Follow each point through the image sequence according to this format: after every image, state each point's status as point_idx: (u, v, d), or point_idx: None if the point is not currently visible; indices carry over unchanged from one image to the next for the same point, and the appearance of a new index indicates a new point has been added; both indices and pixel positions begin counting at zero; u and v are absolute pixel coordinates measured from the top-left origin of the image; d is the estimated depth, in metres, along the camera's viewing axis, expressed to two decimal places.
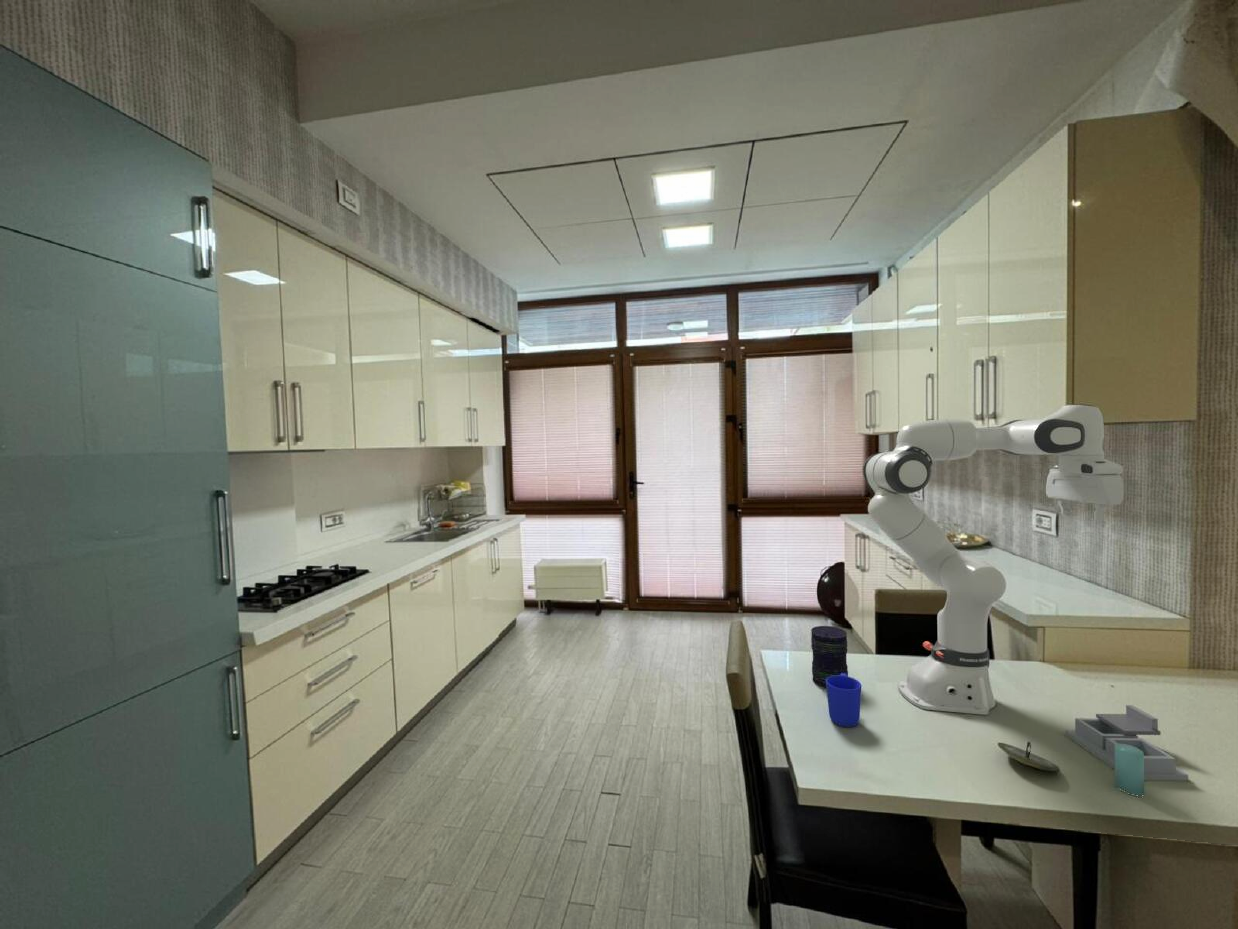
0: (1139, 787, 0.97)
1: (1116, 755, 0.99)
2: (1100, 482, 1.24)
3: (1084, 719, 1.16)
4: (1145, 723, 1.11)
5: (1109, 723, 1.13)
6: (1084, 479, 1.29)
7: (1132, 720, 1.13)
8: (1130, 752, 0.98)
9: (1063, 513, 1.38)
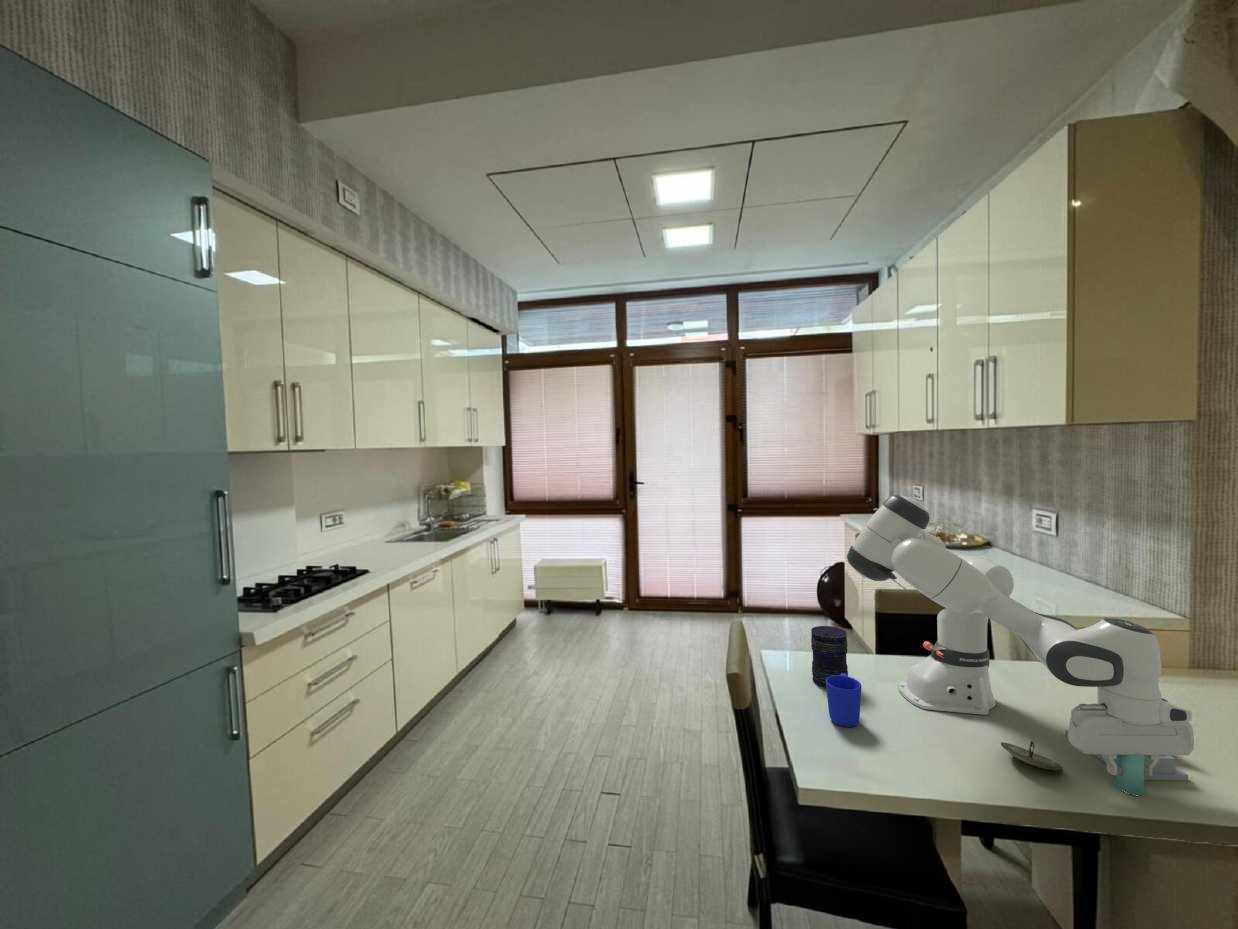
0: (1139, 787, 0.97)
1: None
2: (1190, 730, 0.95)
3: None
4: None
5: None
6: (1160, 726, 0.96)
7: None
8: None
9: (1118, 772, 0.98)
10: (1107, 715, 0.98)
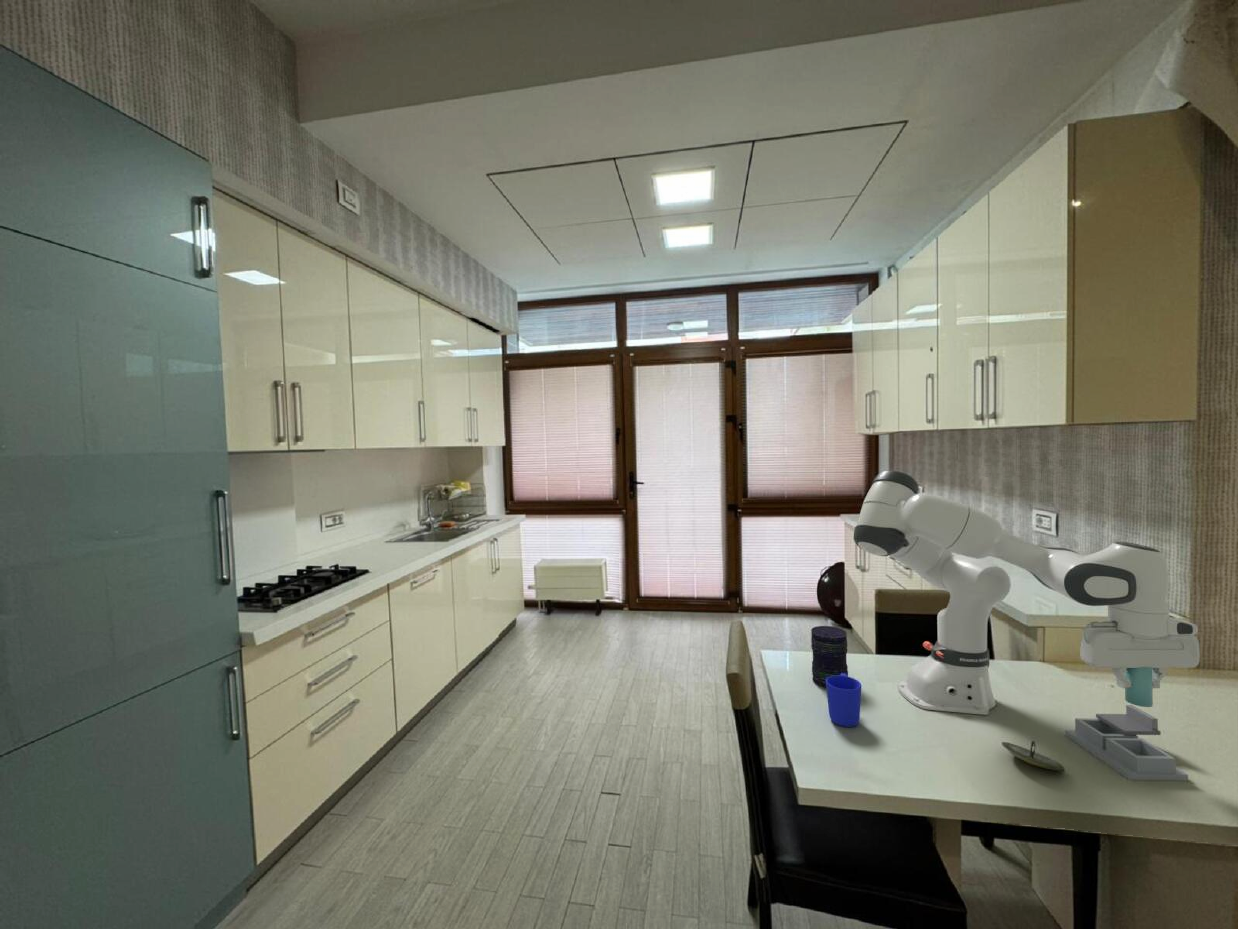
0: (1148, 698, 1.03)
1: (1126, 670, 1.05)
2: (1196, 643, 1.01)
3: (1084, 719, 1.16)
4: (1145, 723, 1.11)
5: (1109, 723, 1.13)
6: (1168, 640, 1.02)
7: (1132, 720, 1.13)
8: None
9: (1127, 685, 1.04)
10: (1117, 631, 1.04)
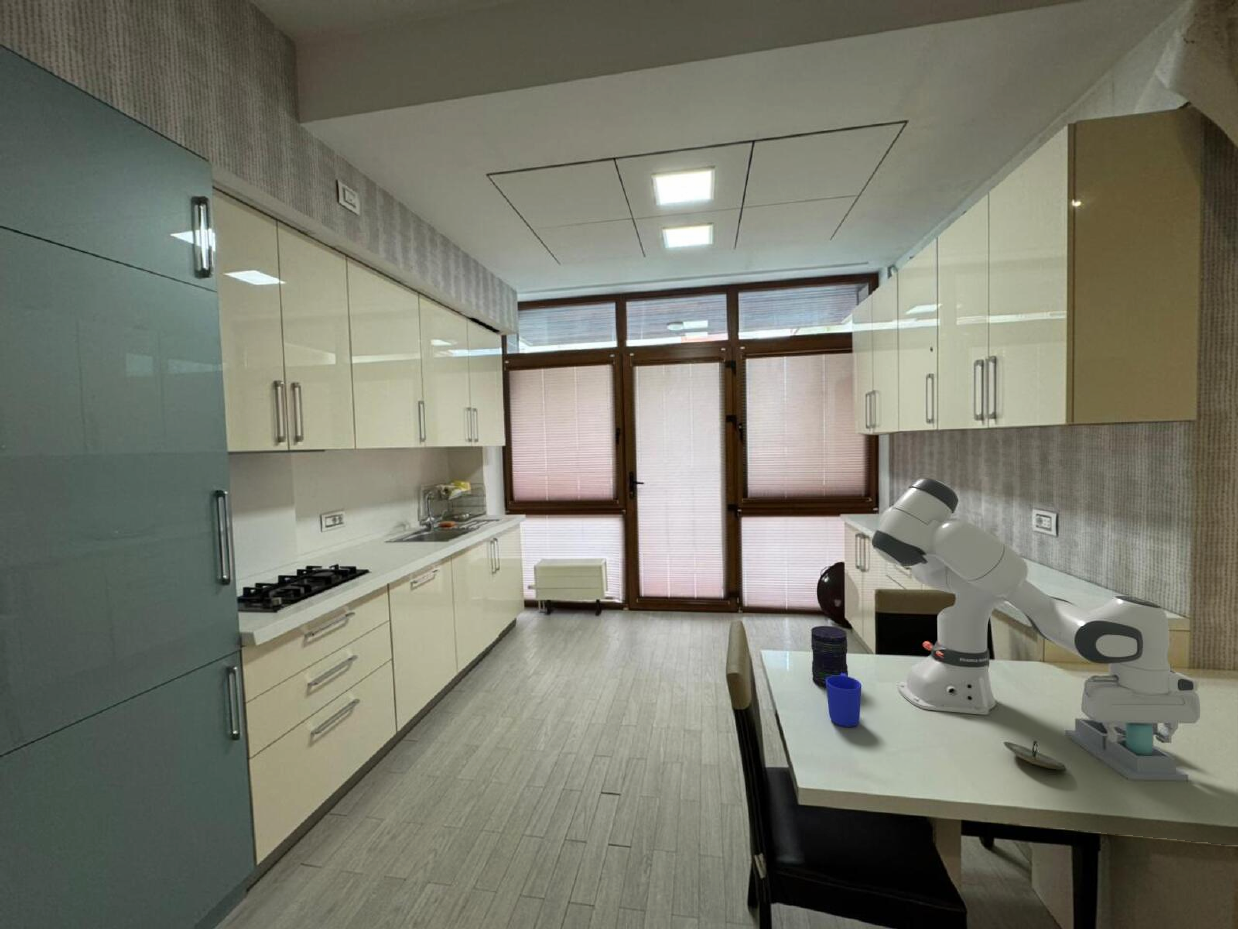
0: None
1: (1127, 729, 1.06)
2: (1196, 699, 1.02)
3: (1084, 719, 1.16)
4: None
5: None
6: (1168, 696, 1.02)
7: None
8: (1140, 725, 1.04)
9: (1118, 739, 1.05)
10: (1118, 686, 1.04)
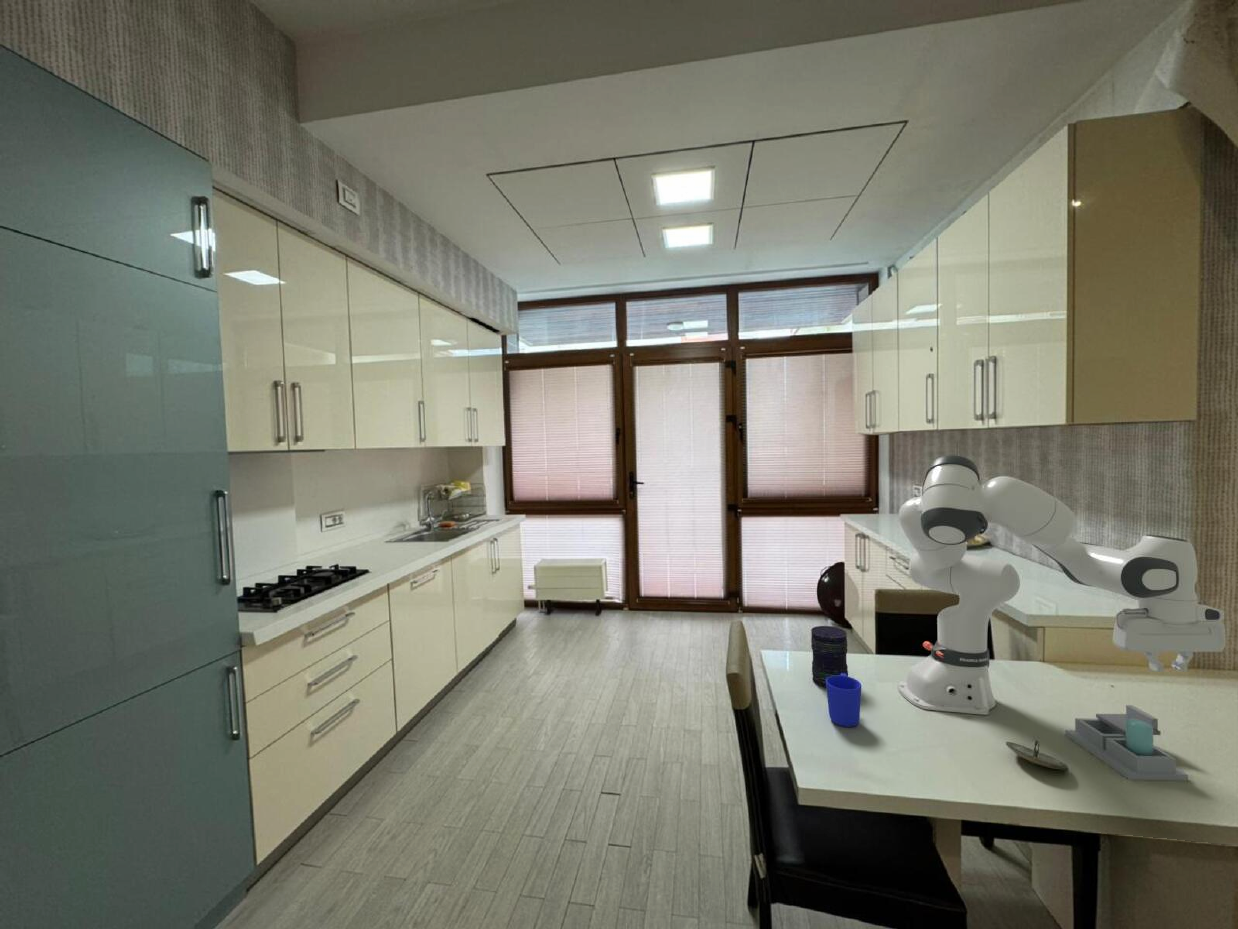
0: None
1: (1127, 729, 1.06)
2: (1222, 628, 1.08)
3: (1084, 719, 1.16)
4: None
5: (1109, 723, 1.13)
6: (1196, 626, 1.09)
7: None
8: (1140, 725, 1.04)
9: (1160, 668, 1.11)
10: (1148, 617, 1.11)
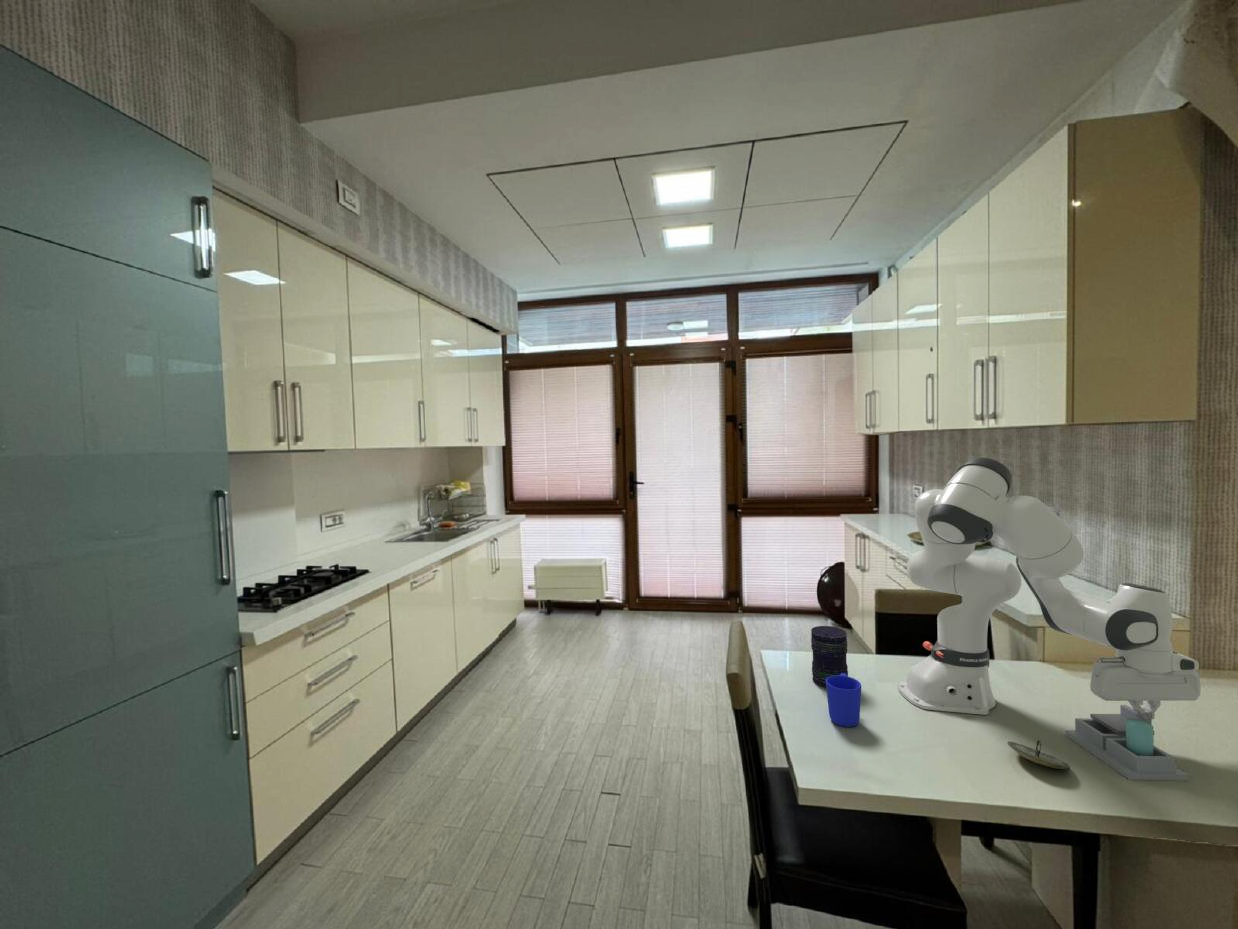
0: None
1: (1127, 729, 1.05)
2: (1197, 677, 1.09)
3: (1084, 719, 1.16)
4: None
5: (1103, 723, 1.13)
6: (1171, 675, 1.10)
7: None
8: (1140, 725, 1.04)
9: None
10: (1125, 666, 1.12)
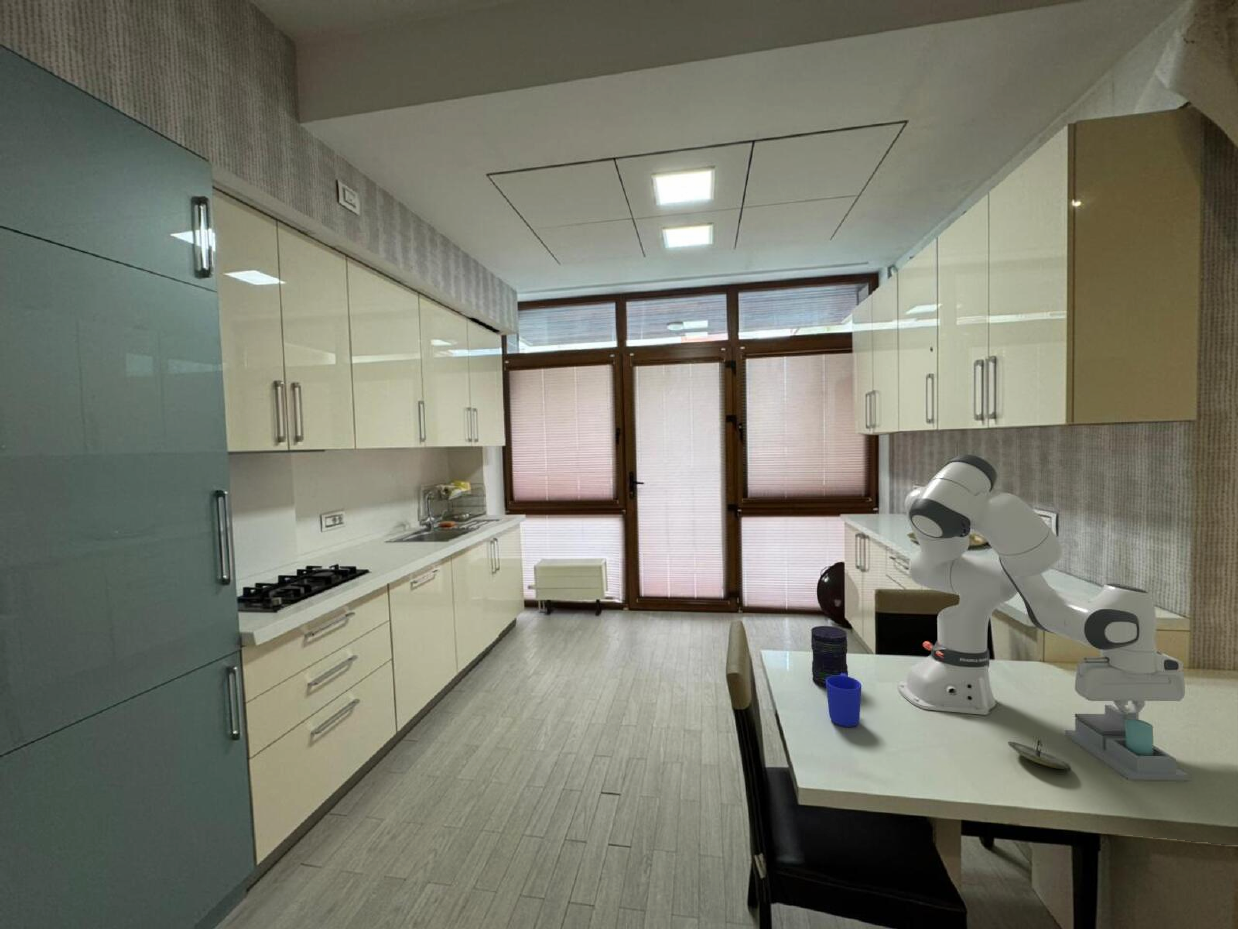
0: None
1: (1127, 729, 1.06)
2: (1181, 678, 1.09)
3: None
4: (1123, 722, 1.11)
5: (1087, 723, 1.13)
6: (1155, 675, 1.10)
7: (1110, 720, 1.14)
8: (1140, 725, 1.04)
9: None
10: (1109, 667, 1.12)
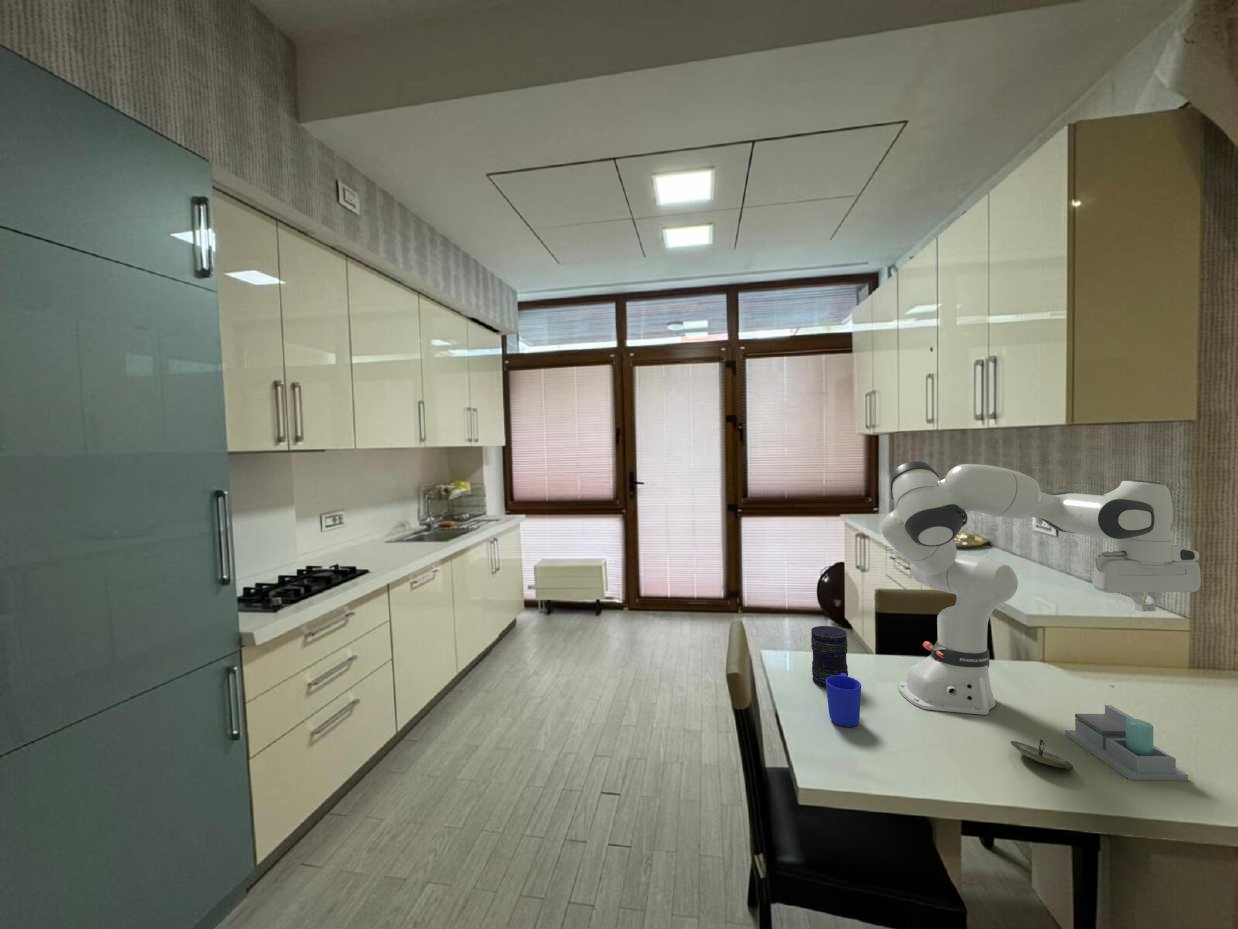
0: None
1: (1127, 729, 1.06)
2: (1197, 568, 1.12)
3: None
4: (1123, 722, 1.11)
5: (1087, 723, 1.13)
6: (1172, 566, 1.13)
7: (1110, 720, 1.14)
8: (1140, 725, 1.04)
9: (1145, 608, 1.15)
10: (1126, 559, 1.15)
